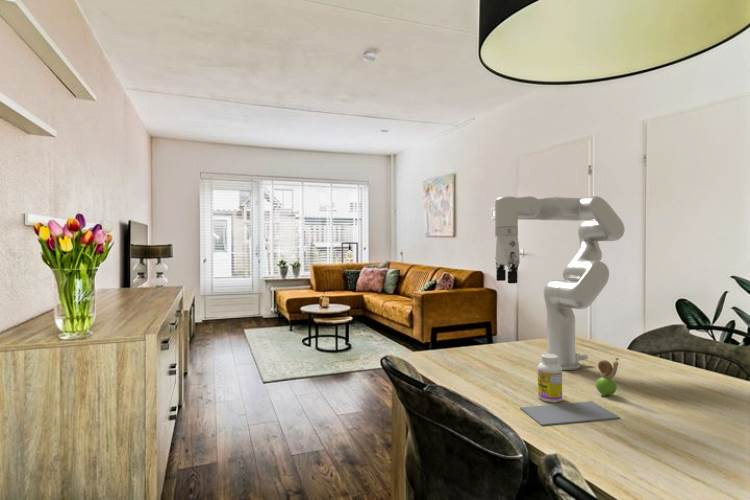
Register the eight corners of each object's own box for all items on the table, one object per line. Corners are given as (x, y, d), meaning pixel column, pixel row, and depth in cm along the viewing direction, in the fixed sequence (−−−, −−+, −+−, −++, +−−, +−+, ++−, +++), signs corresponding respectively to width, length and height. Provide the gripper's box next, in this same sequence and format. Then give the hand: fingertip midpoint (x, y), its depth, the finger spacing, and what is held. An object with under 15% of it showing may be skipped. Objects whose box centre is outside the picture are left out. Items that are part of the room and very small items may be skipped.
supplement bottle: (534, 395, 127) (533, 353, 127) (555, 394, 127) (554, 352, 127) (544, 403, 120) (544, 359, 120) (566, 402, 121) (566, 358, 121)
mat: (592, 402, 120) (592, 401, 120) (619, 418, 109) (619, 417, 109) (520, 408, 117) (520, 407, 117) (541, 425, 106) (541, 424, 106)
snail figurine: (612, 400, 121) (612, 359, 121) (592, 393, 127) (591, 354, 127) (624, 397, 124) (623, 356, 124) (603, 390, 130) (603, 351, 129)
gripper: (528, 231, 137) (528, 284, 138) (506, 233, 154) (506, 279, 155) (506, 232, 137) (506, 284, 137) (486, 233, 154) (487, 280, 154)
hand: (506, 281), depth 146 cm, fingers open, 9 cm apart
